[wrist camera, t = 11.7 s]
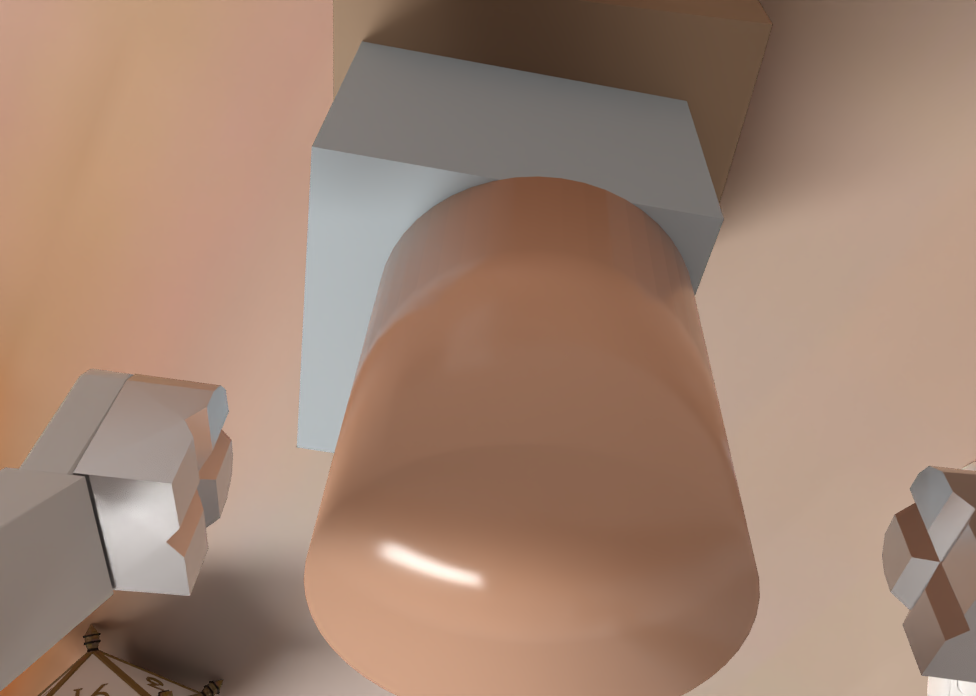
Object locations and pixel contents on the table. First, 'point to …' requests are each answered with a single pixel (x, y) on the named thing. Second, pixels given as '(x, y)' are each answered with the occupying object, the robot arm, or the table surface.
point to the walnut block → (588, 48)
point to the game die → (116, 677)
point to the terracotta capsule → (533, 462)
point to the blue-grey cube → (467, 182)
